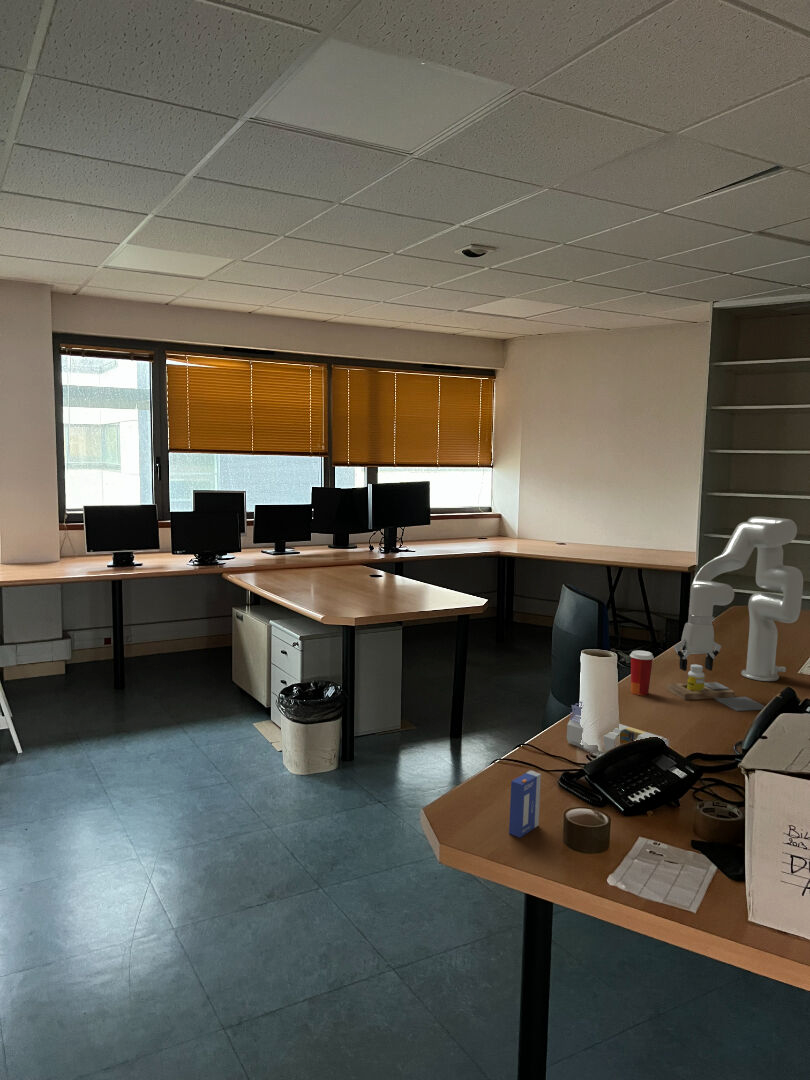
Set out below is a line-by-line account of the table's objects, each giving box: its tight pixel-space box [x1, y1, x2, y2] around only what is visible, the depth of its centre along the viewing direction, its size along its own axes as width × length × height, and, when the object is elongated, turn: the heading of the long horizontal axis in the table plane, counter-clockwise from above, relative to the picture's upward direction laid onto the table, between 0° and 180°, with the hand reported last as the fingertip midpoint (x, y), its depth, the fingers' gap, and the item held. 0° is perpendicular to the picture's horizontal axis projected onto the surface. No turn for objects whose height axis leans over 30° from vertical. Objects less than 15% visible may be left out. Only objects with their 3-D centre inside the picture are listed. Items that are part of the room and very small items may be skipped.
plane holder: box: [666, 681, 736, 701], centre depth 267 cm, size 19×11×3 cm, turn 103°
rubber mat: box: [713, 696, 766, 712], centre depth 256 cm, size 12×12×1 cm
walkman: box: [508, 770, 542, 839], centre depth 166 cm, size 8×3×12 cm, turn 140°
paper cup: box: [629, 650, 654, 696], centre depth 265 cm, size 8×8×14 cm
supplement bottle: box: [687, 663, 706, 692], centre depth 266 cm, size 5×5×10 cm
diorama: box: [566, 700, 670, 755], centre depth 211 cm, size 25×10×13 cm, turn 43°
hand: (695, 669), depth 265 cm, fingers open, 9 cm apart
